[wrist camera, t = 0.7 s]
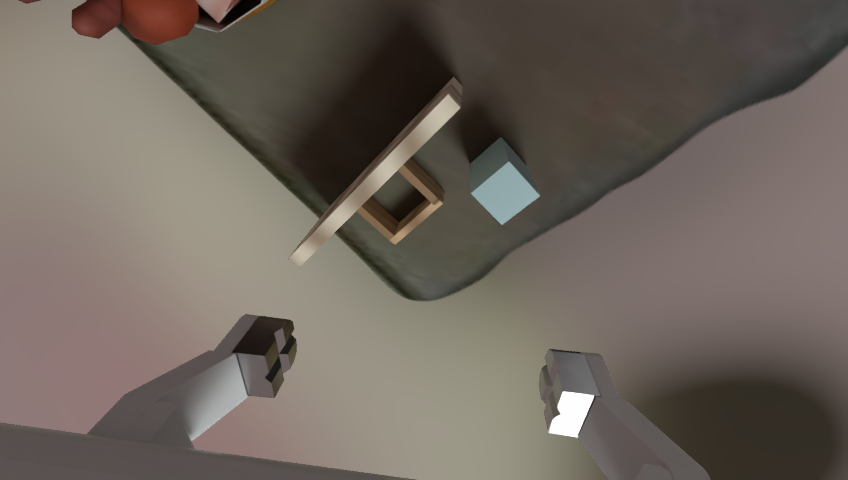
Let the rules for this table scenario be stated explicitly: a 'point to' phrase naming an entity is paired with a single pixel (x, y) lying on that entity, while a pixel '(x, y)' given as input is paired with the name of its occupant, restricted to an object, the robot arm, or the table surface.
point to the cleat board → (381, 171)
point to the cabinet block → (502, 181)
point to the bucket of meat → (160, 16)
